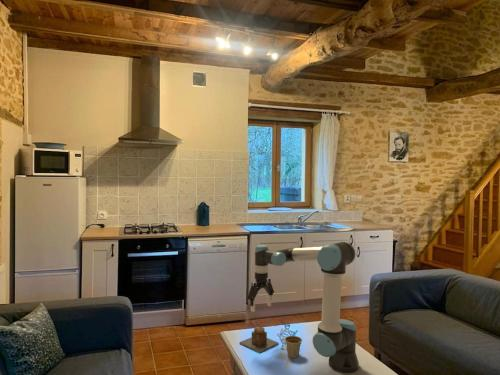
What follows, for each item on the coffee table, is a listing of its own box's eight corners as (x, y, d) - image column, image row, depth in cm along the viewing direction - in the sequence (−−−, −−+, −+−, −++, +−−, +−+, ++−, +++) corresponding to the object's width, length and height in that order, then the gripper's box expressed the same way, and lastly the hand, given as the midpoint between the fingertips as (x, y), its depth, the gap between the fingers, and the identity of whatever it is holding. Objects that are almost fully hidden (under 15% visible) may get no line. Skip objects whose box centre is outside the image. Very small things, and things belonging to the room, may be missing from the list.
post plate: (278, 344, 213) (278, 335, 213) (259, 353, 202) (259, 343, 202) (258, 335, 224) (258, 327, 224) (239, 343, 213) (239, 334, 213)
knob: (266, 342, 213) (266, 328, 213) (259, 345, 209) (259, 331, 209) (259, 339, 218) (259, 325, 217) (251, 342, 213) (251, 328, 213)
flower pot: (301, 360, 195) (301, 343, 195) (283, 358, 197) (283, 342, 197) (302, 352, 204) (302, 336, 204) (285, 350, 206) (285, 335, 206)
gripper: (270, 267, 224) (270, 302, 224) (241, 274, 207) (240, 312, 207) (280, 269, 219) (279, 305, 219) (250, 276, 201) (250, 315, 201)
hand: (260, 308), depth 213 cm, fingers open, 13 cm apart
